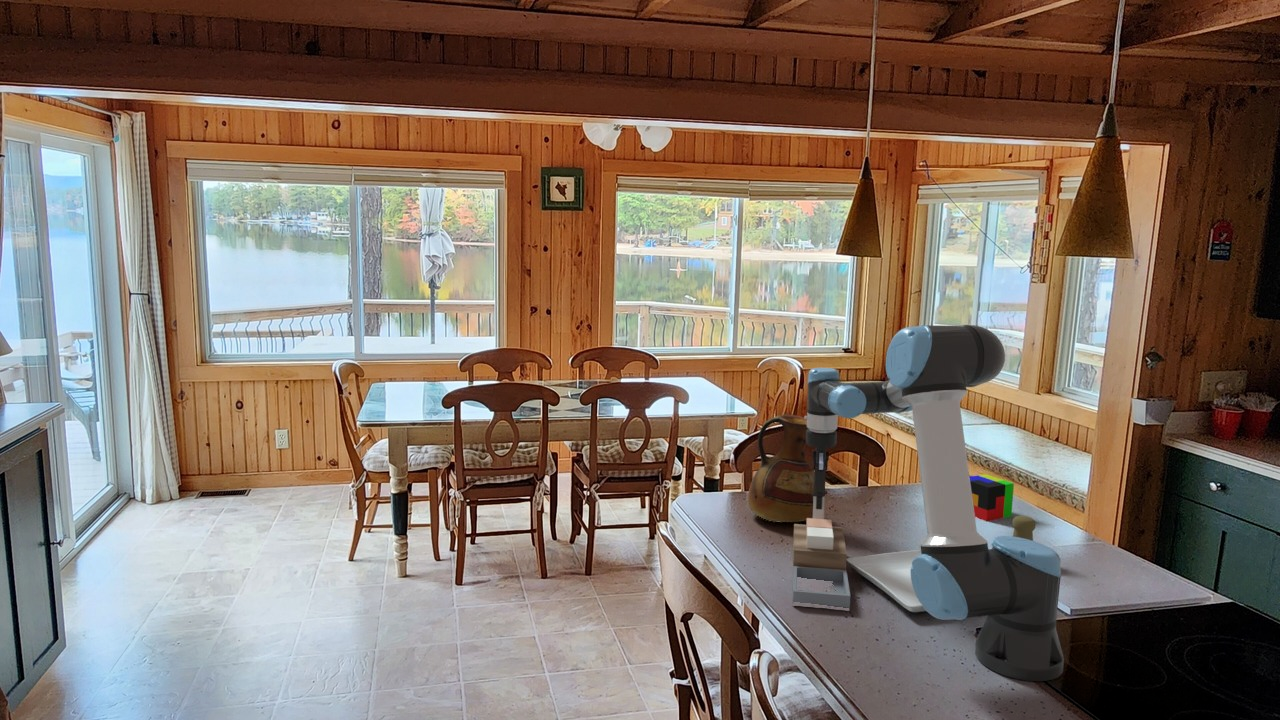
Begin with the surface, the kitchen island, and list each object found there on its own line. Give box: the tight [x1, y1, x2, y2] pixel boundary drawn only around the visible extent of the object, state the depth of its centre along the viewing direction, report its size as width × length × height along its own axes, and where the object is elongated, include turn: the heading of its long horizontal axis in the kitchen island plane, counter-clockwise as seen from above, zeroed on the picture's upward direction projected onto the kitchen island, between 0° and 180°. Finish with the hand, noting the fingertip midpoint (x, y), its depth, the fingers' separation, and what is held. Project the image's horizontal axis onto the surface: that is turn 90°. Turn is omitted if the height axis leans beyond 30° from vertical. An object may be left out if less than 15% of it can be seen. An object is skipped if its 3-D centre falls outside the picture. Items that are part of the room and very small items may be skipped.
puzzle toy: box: [969, 473, 1015, 522], centre depth 235 cm, size 10×10×10 cm
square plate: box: [846, 549, 927, 613], centre depth 185 cm, size 27×27×4 cm
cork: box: [1012, 515, 1036, 541], centre depth 201 cm, size 6×6×11 cm
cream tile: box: [807, 527, 834, 550], centre depth 192 cm, size 6×6×3 cm
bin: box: [792, 565, 851, 609], centre depth 181 cm, size 14×12×4 cm
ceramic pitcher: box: [747, 413, 815, 523], centre depth 229 cm, size 20×20×30 cm
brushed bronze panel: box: [792, 523, 848, 571], centre depth 197 cm, size 18×12×7 cm, turn 169°
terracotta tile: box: [805, 518, 833, 538], centre depth 199 cm, size 6×6×3 cm
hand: (818, 519), depth 206 cm, fingers closed
